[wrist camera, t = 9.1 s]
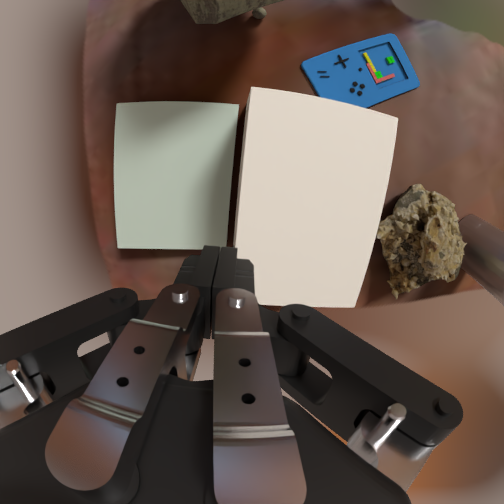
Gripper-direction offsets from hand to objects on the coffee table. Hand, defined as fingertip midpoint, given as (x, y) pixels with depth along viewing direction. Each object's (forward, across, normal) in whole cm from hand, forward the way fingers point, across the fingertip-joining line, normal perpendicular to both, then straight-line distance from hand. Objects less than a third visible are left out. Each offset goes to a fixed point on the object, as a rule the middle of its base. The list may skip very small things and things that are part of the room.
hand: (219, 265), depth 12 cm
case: (+22, -6, 0) cm, 22 cm away
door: (+20, +1, -1) cm, 20 cm away
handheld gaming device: (+22, -14, -16) cm, 31 cm away
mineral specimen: (+23, -24, +4) cm, 33 cm away
